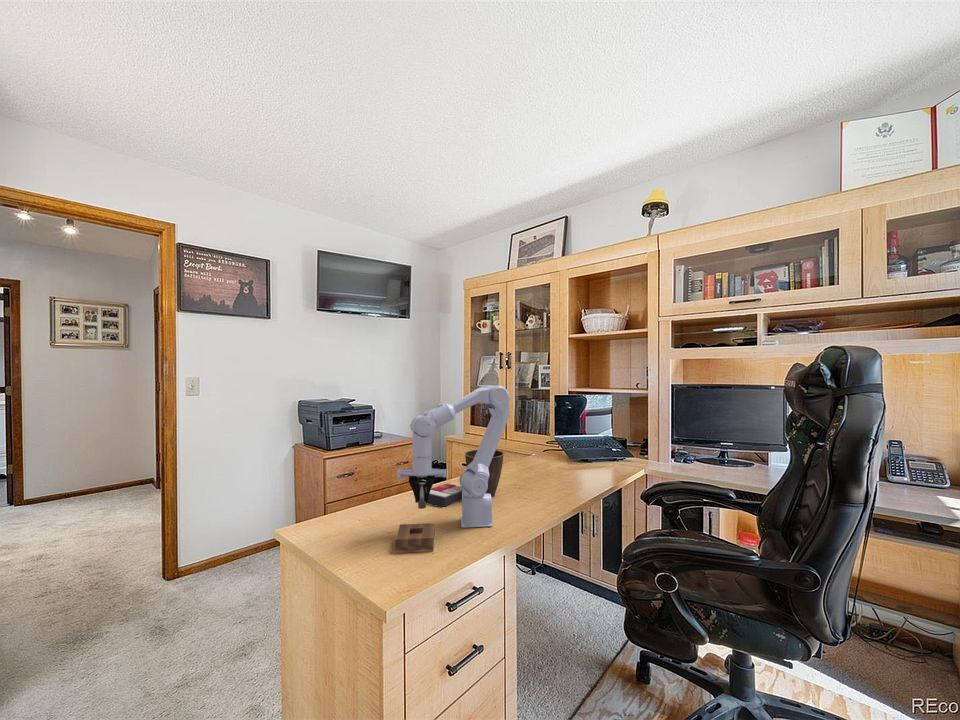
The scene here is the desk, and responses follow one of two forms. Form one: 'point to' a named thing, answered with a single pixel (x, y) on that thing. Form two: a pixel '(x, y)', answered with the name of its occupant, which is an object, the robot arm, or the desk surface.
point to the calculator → (445, 495)
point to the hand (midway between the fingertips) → (422, 501)
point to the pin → (421, 495)
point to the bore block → (415, 538)
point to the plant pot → (490, 469)
